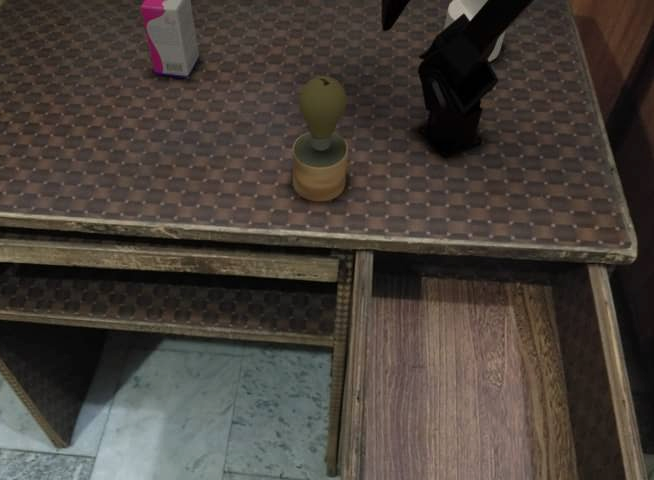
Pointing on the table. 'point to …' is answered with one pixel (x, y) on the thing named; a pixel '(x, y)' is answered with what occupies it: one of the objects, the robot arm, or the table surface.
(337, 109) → the light bulb
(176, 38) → the supplement box
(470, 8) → the drinking glass
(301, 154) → the tan cup
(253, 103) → the table surface
